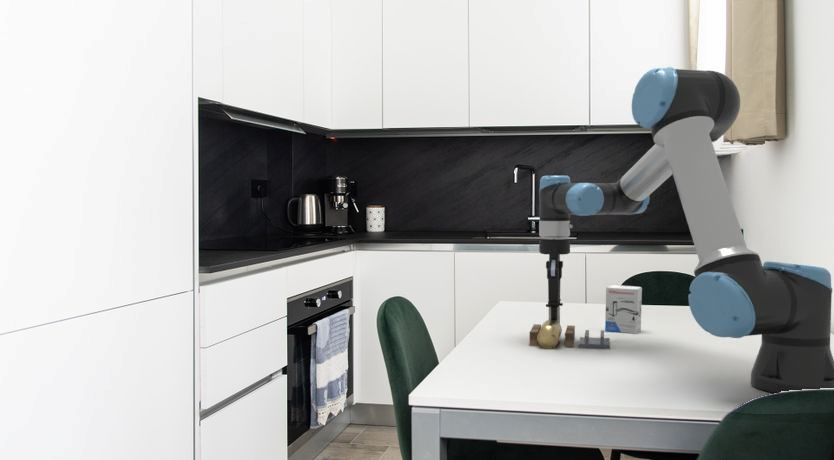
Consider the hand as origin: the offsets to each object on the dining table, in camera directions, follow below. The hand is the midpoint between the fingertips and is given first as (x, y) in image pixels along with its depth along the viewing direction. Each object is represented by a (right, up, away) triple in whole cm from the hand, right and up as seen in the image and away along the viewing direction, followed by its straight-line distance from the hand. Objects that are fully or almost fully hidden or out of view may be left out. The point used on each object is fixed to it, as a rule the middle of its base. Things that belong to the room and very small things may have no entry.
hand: (554, 332), depth 206 cm
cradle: (+8, -2, -9) cm, 12 cm away
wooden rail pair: (-1, -2, -4) cm, 5 cm away
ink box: (+20, -1, +11) cm, 23 cm away
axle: (-2, +1, -7) cm, 8 cm away
